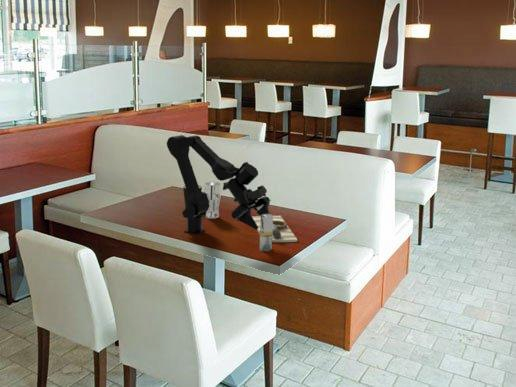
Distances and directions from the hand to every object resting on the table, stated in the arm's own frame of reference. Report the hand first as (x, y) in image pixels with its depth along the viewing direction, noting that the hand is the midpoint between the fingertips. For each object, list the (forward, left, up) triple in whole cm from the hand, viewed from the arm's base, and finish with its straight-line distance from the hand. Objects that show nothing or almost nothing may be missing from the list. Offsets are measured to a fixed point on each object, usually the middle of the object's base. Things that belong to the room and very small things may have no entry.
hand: (264, 225), depth 212 cm
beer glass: (+31, +31, -9) cm, 45 cm away
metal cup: (0, -1, -9) cm, 9 cm away
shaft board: (+24, +2, -9) cm, 25 cm away
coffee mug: (+40, +45, -9) cm, 61 cm away
